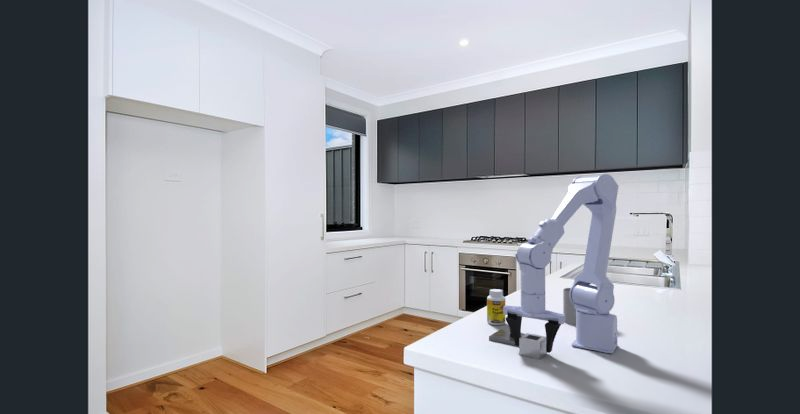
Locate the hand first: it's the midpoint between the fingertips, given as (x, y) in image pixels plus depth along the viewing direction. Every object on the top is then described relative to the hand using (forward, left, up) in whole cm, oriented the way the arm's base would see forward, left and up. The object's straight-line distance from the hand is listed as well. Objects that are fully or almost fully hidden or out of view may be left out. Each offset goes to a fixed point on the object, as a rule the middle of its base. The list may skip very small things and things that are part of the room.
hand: (533, 348), depth 97 cm
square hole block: (0, 0, -1) cm, 1 cm away
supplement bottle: (+18, -19, -2) cm, 26 cm away
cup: (-2, -35, -2) cm, 35 cm away
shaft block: (+8, -7, -1) cm, 11 cm away
